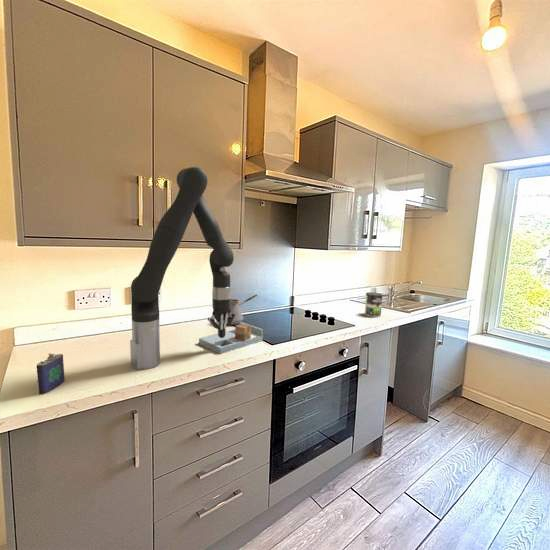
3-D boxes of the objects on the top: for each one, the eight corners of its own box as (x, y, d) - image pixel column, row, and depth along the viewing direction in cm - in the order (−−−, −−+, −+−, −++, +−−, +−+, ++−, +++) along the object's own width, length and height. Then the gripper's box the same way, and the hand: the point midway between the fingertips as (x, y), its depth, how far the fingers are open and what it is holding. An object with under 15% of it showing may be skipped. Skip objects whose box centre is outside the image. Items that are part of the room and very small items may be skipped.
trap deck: (220, 354, 124) (220, 341, 123) (198, 343, 134) (198, 331, 134) (262, 340, 141) (262, 329, 140) (240, 332, 152) (240, 321, 151)
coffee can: (384, 316, 192) (386, 295, 191) (369, 317, 190) (371, 295, 188) (375, 312, 202) (377, 292, 201) (361, 313, 200) (363, 292, 198)
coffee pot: (227, 327, 159) (228, 299, 157) (219, 321, 169) (219, 295, 167) (262, 322, 171) (263, 296, 169) (252, 317, 181) (252, 292, 179)
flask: (59, 379, 98) (57, 348, 97) (68, 380, 98) (66, 348, 97) (35, 394, 89) (33, 359, 88) (45, 394, 89) (43, 360, 88)
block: (244, 341, 132) (244, 327, 132) (235, 338, 135) (235, 325, 134) (250, 337, 137) (251, 325, 136) (241, 335, 139) (241, 323, 138)
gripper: (213, 300, 118) (213, 343, 120) (239, 296, 128) (239, 335, 130) (202, 297, 123) (203, 338, 126) (228, 293, 133) (228, 331, 135)
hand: (221, 337), depth 128 cm, fingers closed
